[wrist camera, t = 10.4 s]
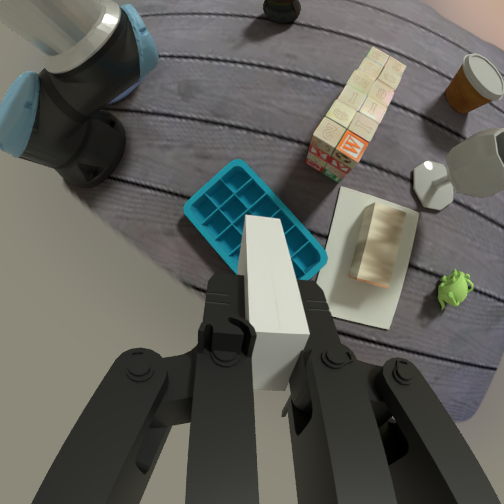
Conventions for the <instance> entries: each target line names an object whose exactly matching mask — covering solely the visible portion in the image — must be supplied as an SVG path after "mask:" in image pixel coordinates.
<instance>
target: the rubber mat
mask: <svg viewBox="0 0 504 504" xmlns="http://www.w3.org/2000/svg"><path fill="white" fill-rule="evenodd" d="M374 202H377V203H380V204H383V205H386V206H389V207H392V208H395V209H398V210H401V211H403V212H406V216H405V222H404V226H403V231H402V236H401V241H400V245H399V249H398V254H397V258H396V262H395V266H394V270H393V273H392V277H391V281H390V284H389V288H384V287H380V286H377V285H373V284H369V283H366V282H362V281H358V280H355V279H353V278H350V277H348V275H349V271H350V268H351V264H352V260H353V257H354V253H355V249H356V245H357V241H358V237H359V233H360V228H361V224H362V220H363V215H364V211H365V207H366V206H368V205H370V204H372V203H374ZM418 217H419V212H416V211H414V210H411V209H408V208H405V207H403V206H400V205H397V204H394V203H391V202H388V201H386V200H383V199H380V198H377V197H374V196H371V195H368V194H365V193H361V192H358V191H355V190H352V189H349V188H345V187H342V186H341V187H340V191H339V196H338V200H337V204H336V208H335V213H334V217H333V221H332V225H331V229H330V233H329V237H328V241H327V245H326V248H325V251H326V252H327V256H328V261H327V264H326V265H325V266H324V267H323V268H322V269H320V270H319V274H318V278H317V281H316V283H317V284H318V285H319V286H320V287H321V289H322V290H323V292H324V294H325V297H326V300H327V301H326V303H328V306H329V309H330V310H329V311H330V312H331V315H332V316H333V317H337V318H341V319H345V320H350V321H354V322H358V323H362V324H366V325H371V326H375V327H379V328H384V329H388V330H389V328H390V325H391V322H392V319H393V316H394V313H395V310H396V307H397V303H398V300H399V297H400V293H401V290H402V286H403V283H404V279H405V275H406V271H407V268H408V264H409V259H410V255H411V251H412V247H413V242H414V237H415V232H416V227H417V222H418Z"/></svg>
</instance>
